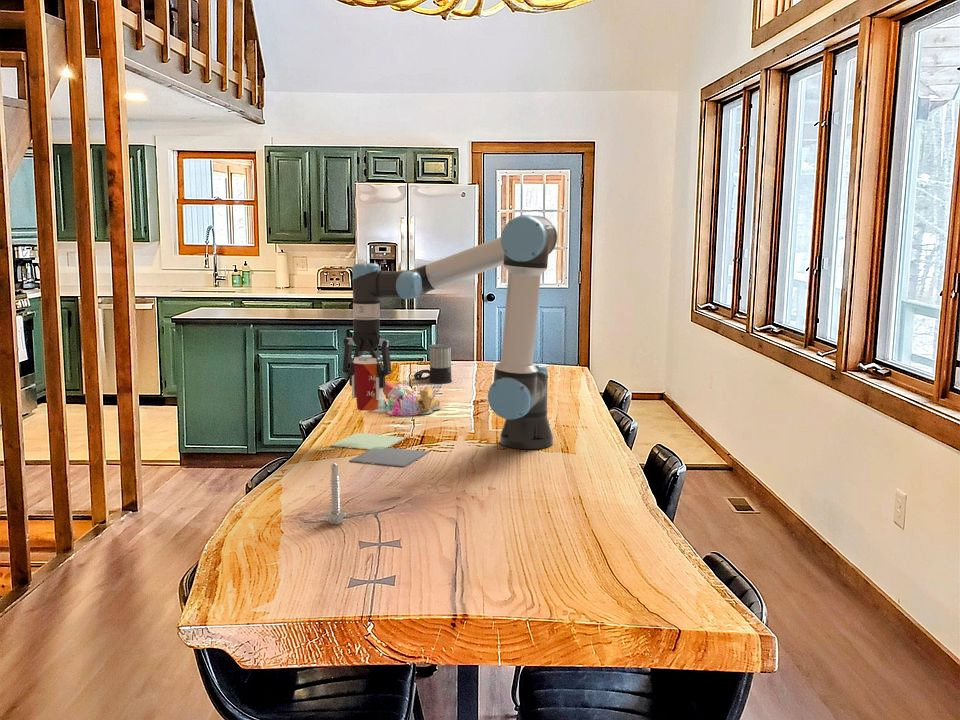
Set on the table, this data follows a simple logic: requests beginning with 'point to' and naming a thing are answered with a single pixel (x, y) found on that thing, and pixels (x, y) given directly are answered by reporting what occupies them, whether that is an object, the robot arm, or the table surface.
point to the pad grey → (390, 456)
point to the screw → (335, 499)
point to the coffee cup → (366, 382)
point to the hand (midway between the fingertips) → (367, 398)
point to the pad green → (368, 441)
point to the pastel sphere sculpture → (406, 401)
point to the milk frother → (438, 364)
